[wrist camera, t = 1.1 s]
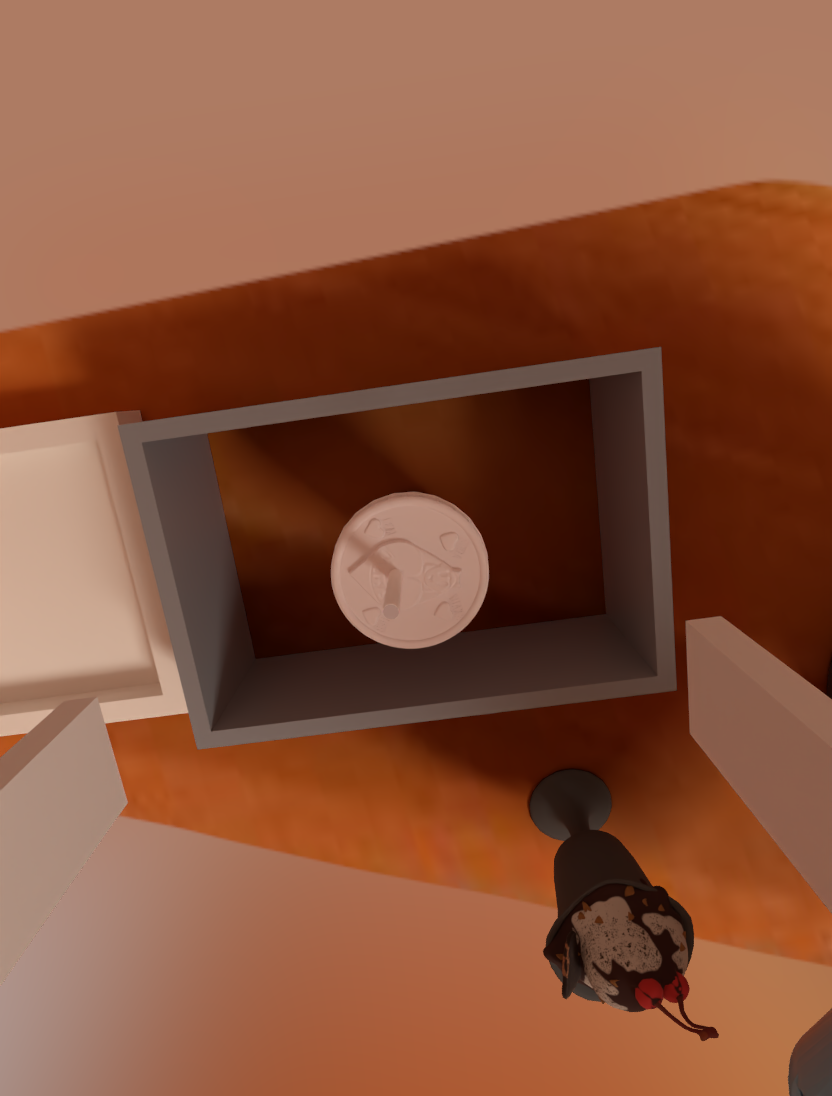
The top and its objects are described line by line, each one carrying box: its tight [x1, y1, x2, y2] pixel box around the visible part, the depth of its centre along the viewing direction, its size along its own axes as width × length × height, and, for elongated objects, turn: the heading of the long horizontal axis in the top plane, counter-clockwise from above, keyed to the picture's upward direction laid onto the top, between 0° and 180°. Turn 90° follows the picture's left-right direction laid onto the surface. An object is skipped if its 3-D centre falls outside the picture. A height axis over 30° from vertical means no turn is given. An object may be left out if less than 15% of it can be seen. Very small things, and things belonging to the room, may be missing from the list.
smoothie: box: [331, 491, 489, 649], centre depth 28 cm, size 6×6×14 cm
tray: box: [0, 410, 188, 736], centre depth 34 cm, size 16×16×3 cm
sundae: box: [530, 769, 719, 1041], centre depth 31 cm, size 7×7×15 cm
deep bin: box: [117, 347, 677, 749], centre depth 31 cm, size 22×15×8 cm
